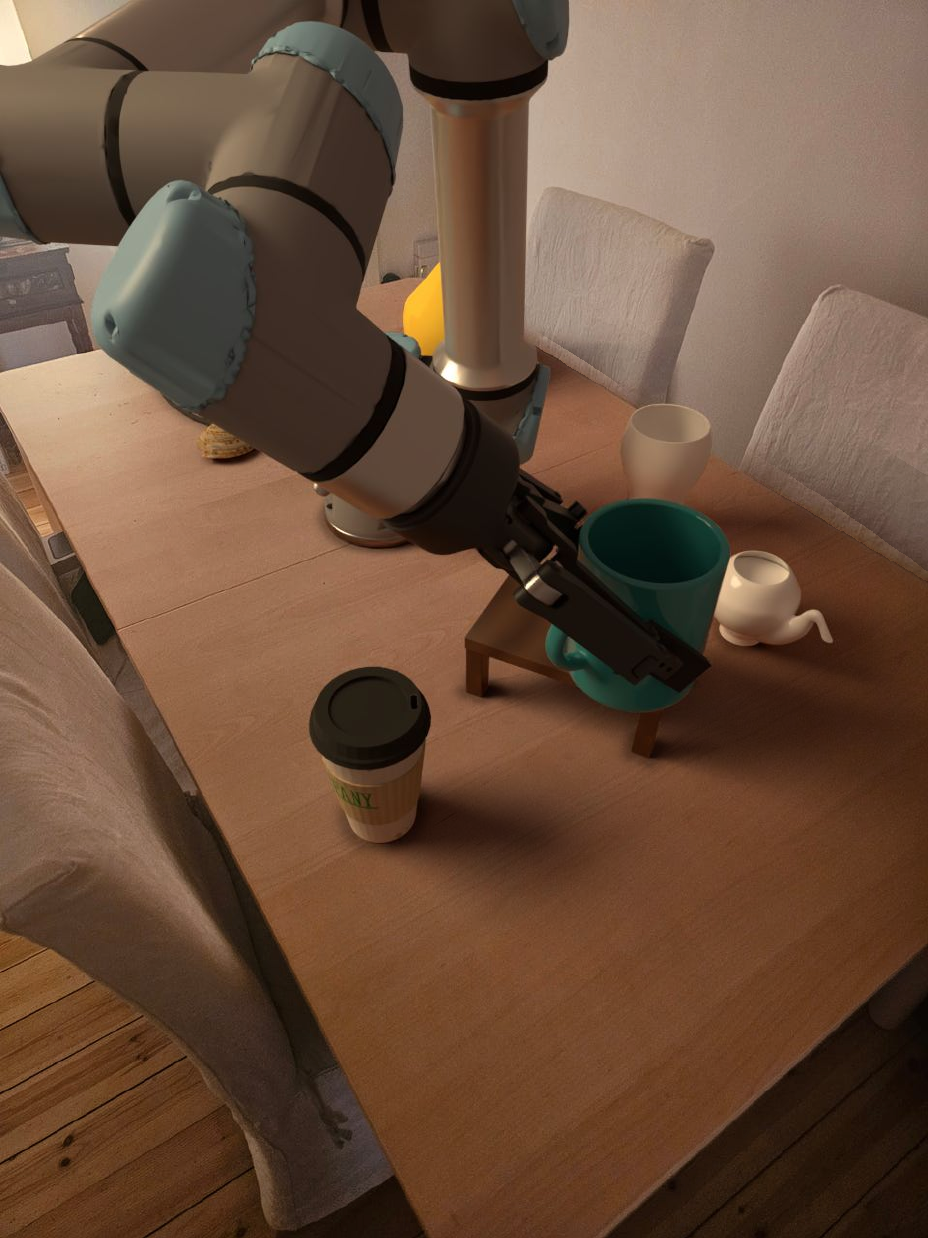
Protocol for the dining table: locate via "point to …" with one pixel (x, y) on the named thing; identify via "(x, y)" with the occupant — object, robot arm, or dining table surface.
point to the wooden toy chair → (527, 653)
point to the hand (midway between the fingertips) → (657, 624)
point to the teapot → (763, 602)
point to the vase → (426, 313)
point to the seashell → (220, 444)
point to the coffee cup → (373, 748)
